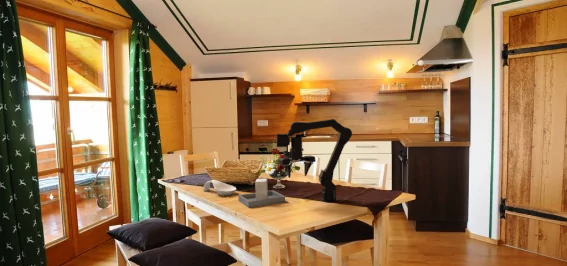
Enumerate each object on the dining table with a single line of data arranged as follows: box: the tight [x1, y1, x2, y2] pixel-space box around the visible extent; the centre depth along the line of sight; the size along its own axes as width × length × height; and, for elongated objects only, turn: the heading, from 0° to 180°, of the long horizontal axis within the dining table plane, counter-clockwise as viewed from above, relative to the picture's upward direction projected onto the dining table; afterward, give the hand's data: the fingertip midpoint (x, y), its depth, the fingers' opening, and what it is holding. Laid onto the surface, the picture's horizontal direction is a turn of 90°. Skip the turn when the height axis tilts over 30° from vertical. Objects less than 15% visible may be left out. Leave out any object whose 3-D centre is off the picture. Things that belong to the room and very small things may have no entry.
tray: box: [237, 190, 286, 209], centre depth 197 cm, size 20×16×3 cm
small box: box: [254, 178, 269, 200], centre depth 197 cm, size 8×6×10 cm
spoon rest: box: [202, 179, 237, 197], centre depth 218 cm, size 24×12×7 cm, turn 51°
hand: (297, 176), depth 193 cm, fingers open, 9 cm apart
